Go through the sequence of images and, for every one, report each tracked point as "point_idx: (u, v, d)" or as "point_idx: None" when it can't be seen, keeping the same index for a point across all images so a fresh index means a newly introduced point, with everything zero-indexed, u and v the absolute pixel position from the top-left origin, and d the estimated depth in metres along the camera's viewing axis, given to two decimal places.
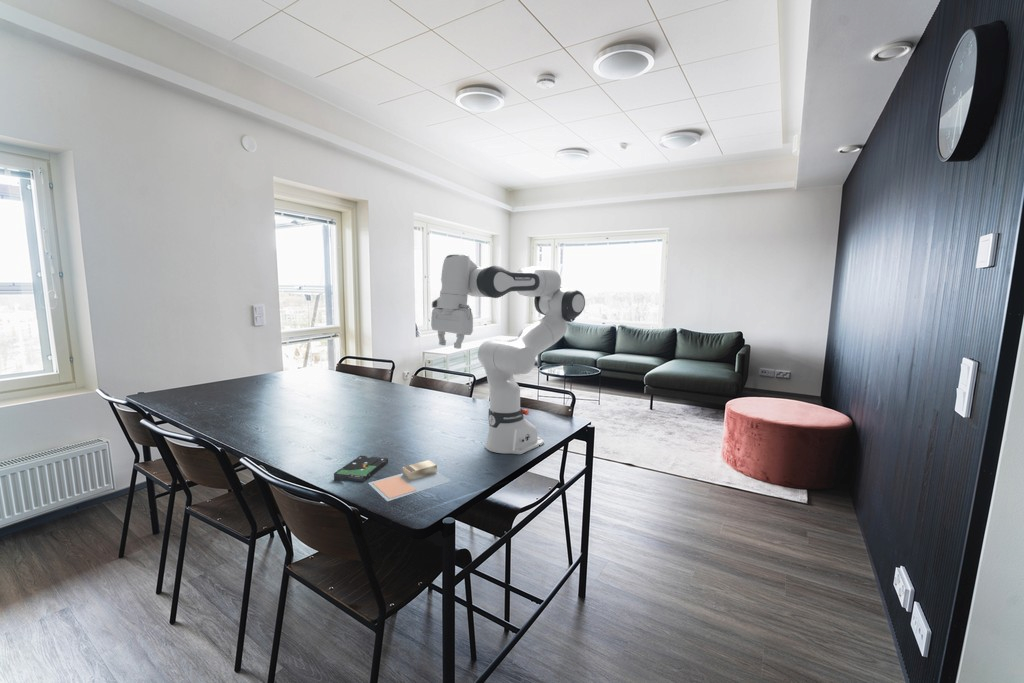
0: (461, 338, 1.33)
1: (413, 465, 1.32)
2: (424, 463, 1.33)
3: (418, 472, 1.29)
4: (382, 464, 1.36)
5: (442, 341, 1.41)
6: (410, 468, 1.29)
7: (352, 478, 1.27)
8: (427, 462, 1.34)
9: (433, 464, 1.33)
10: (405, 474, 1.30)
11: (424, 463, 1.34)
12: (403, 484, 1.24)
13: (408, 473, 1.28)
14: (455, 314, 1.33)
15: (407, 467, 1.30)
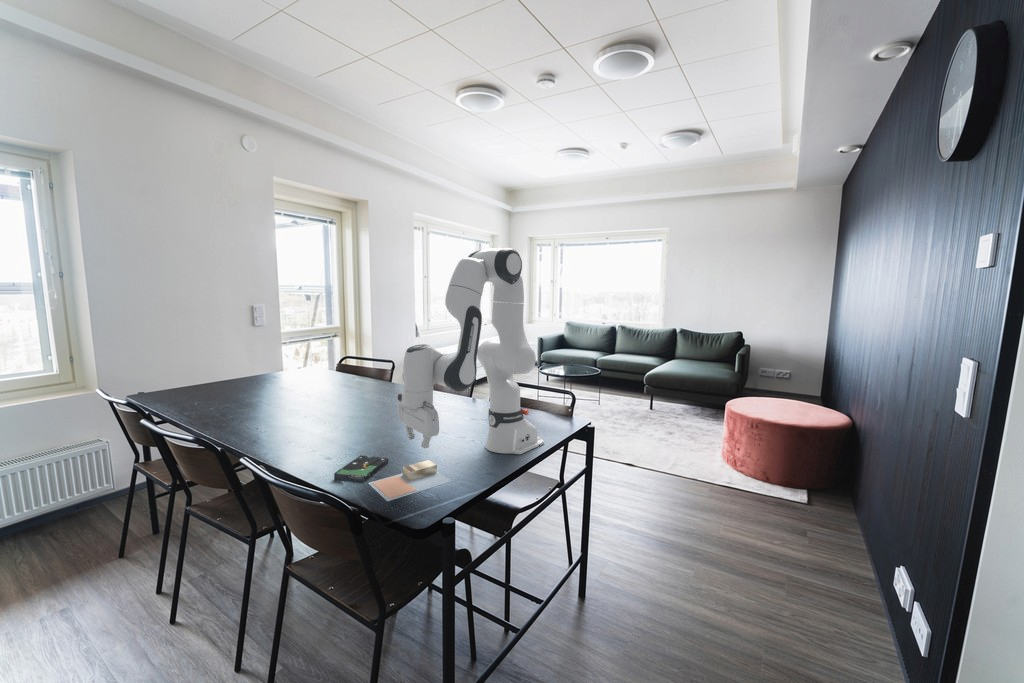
0: (428, 438, 1.25)
1: (413, 465, 1.32)
2: (424, 463, 1.33)
3: (418, 472, 1.29)
4: (382, 464, 1.37)
5: (410, 435, 1.33)
6: (410, 468, 1.29)
7: (352, 478, 1.27)
8: (427, 462, 1.34)
9: (433, 464, 1.33)
10: (405, 474, 1.30)
11: (424, 463, 1.34)
12: (403, 484, 1.24)
13: (408, 473, 1.28)
14: (420, 413, 1.25)
15: (407, 467, 1.30)
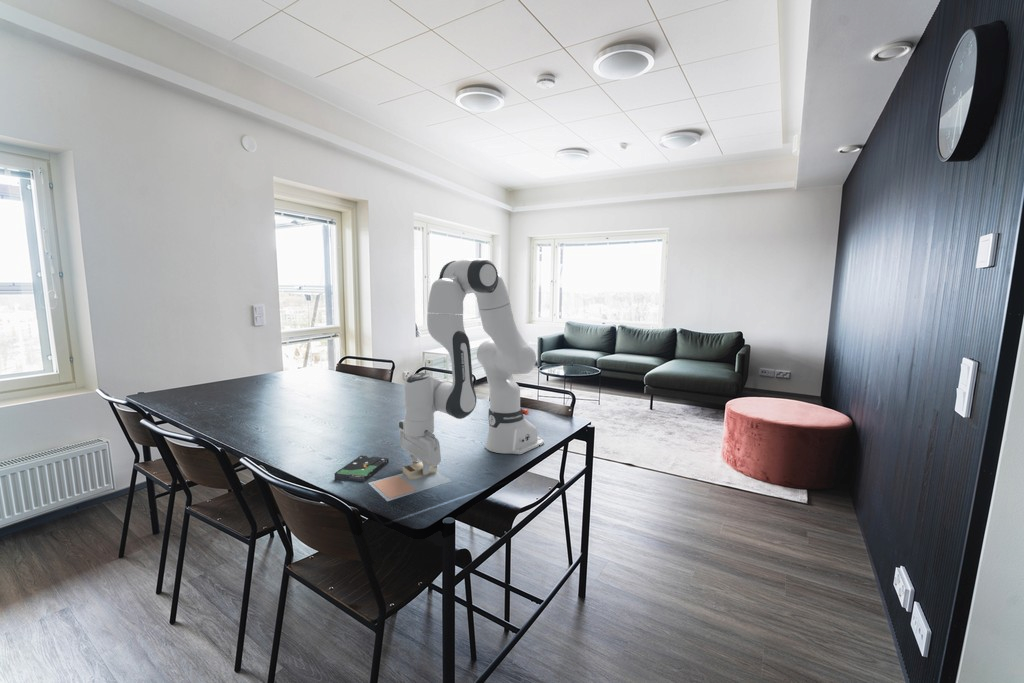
0: (427, 465, 1.28)
1: (413, 465, 1.32)
2: None
3: (418, 472, 1.29)
4: (383, 464, 1.37)
5: (414, 463, 1.33)
6: (410, 468, 1.29)
7: (353, 478, 1.27)
8: None
9: None
10: (405, 474, 1.30)
11: None
12: (403, 484, 1.24)
13: (408, 473, 1.28)
14: (421, 442, 1.26)
15: (407, 467, 1.30)
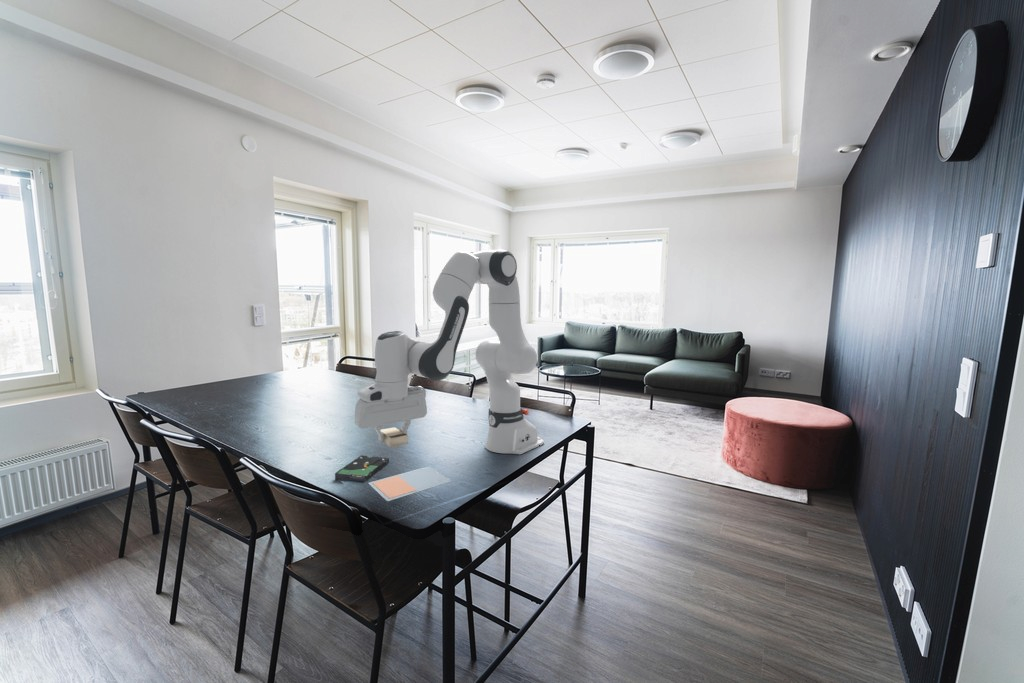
0: None
1: (390, 434, 1.19)
2: (387, 431, 1.22)
3: None
4: (383, 464, 1.37)
5: None
6: (398, 435, 1.19)
7: (353, 478, 1.27)
8: (385, 430, 1.23)
9: (392, 428, 1.25)
10: (397, 443, 1.17)
11: (387, 431, 1.22)
12: (403, 484, 1.24)
13: (404, 437, 1.19)
14: (410, 399, 1.22)
15: (394, 436, 1.18)
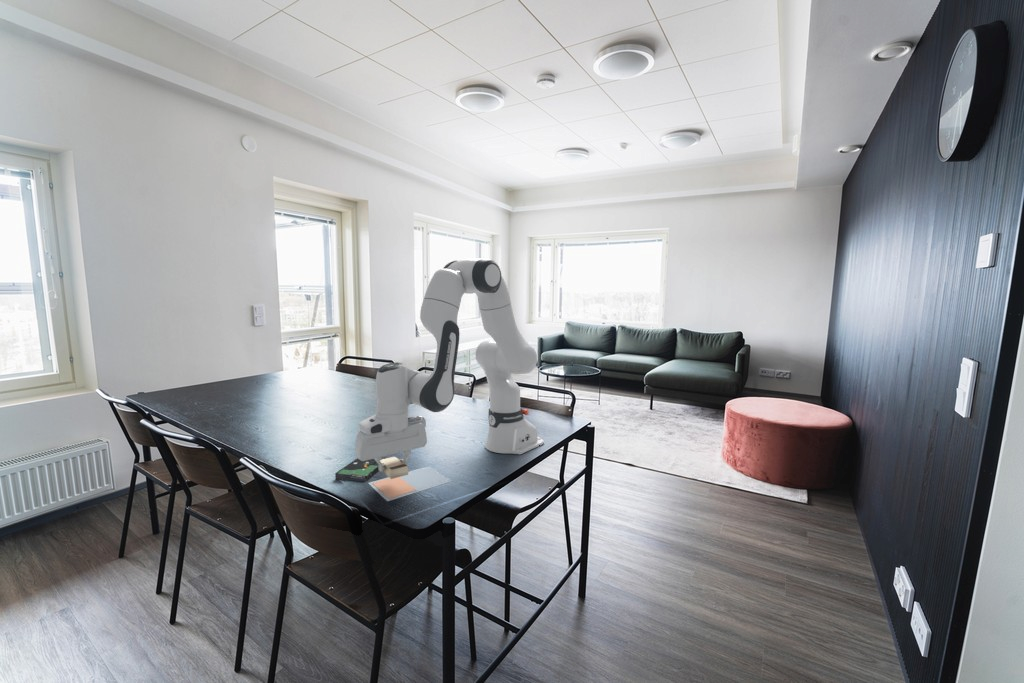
0: None
1: (390, 465, 1.20)
2: (387, 461, 1.23)
3: None
4: None
5: None
6: (398, 466, 1.20)
7: (354, 478, 1.27)
8: (386, 460, 1.24)
9: (392, 457, 1.26)
10: (397, 475, 1.18)
11: (387, 461, 1.23)
12: (403, 484, 1.24)
13: (404, 468, 1.20)
14: (411, 430, 1.23)
15: (395, 467, 1.19)
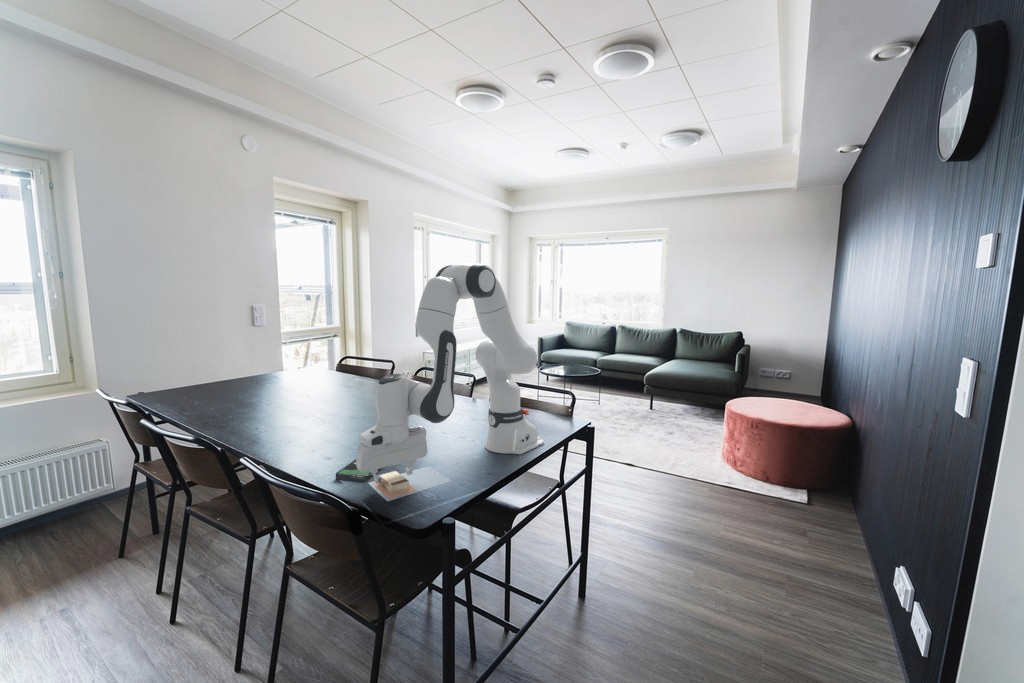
0: None
1: (391, 481, 1.21)
2: (388, 476, 1.24)
3: None
4: None
5: None
6: (399, 481, 1.20)
7: (354, 478, 1.27)
8: (387, 475, 1.25)
9: (393, 472, 1.27)
10: (398, 490, 1.19)
11: (388, 476, 1.24)
12: None
13: (405, 484, 1.20)
14: (411, 441, 1.23)
15: (396, 483, 1.19)
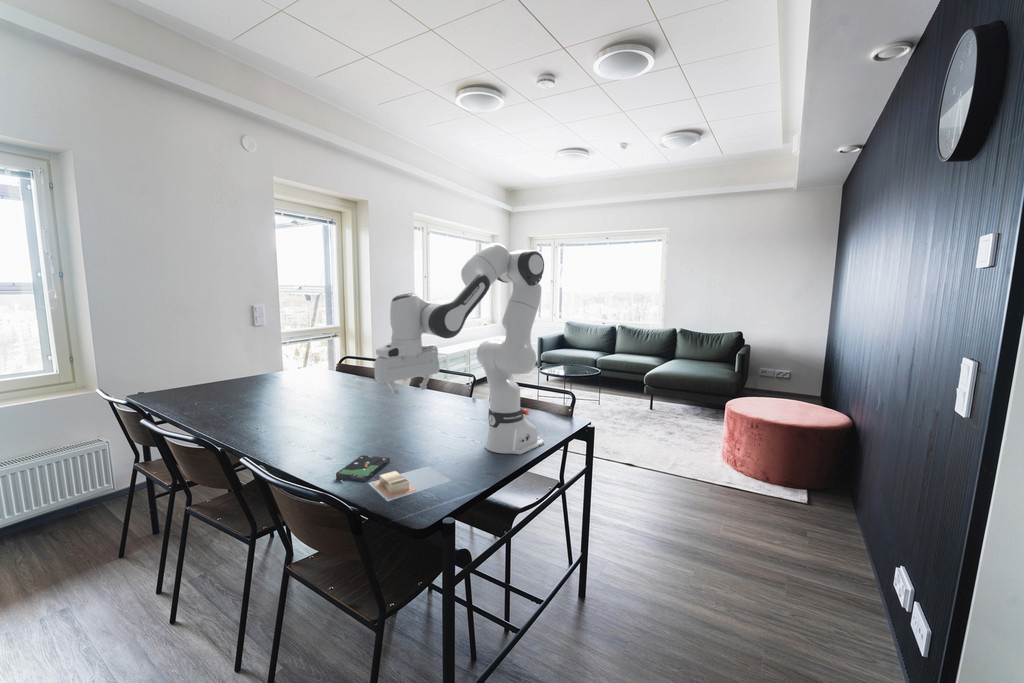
0: None
1: (391, 481, 1.21)
2: (388, 476, 1.24)
3: None
4: (384, 464, 1.37)
5: None
6: (399, 481, 1.20)
7: (354, 478, 1.27)
8: (387, 475, 1.25)
9: (393, 472, 1.27)
10: (398, 490, 1.19)
11: (388, 476, 1.24)
12: None
13: (405, 484, 1.20)
14: (424, 356, 1.32)
15: (396, 483, 1.19)
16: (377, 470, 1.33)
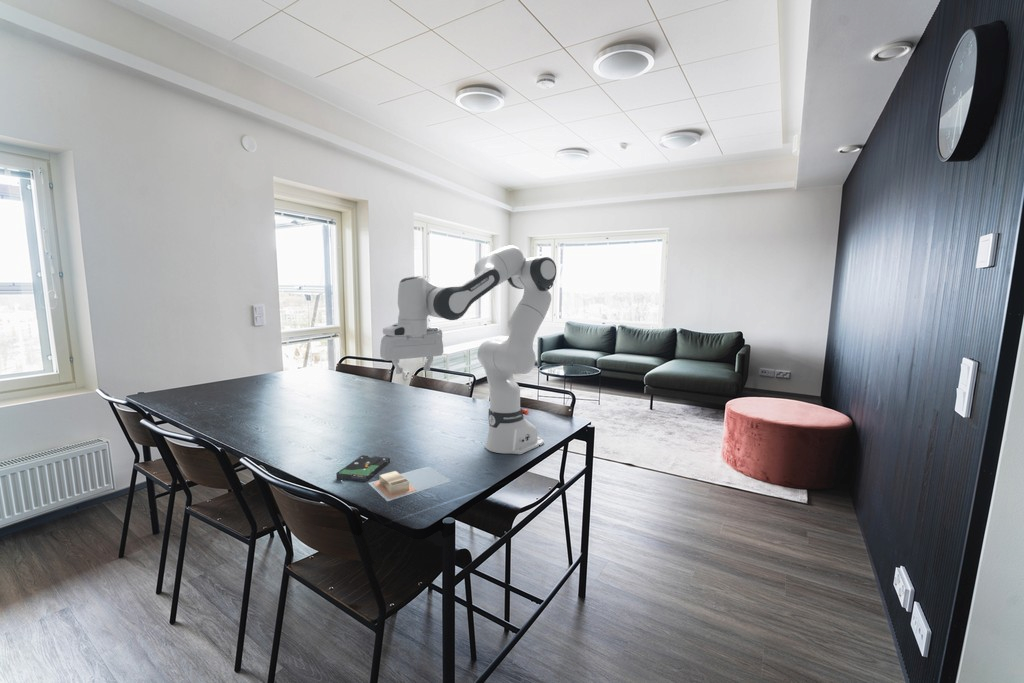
0: None
1: (391, 481, 1.21)
2: (388, 476, 1.24)
3: None
4: (384, 464, 1.37)
5: None
6: (399, 481, 1.20)
7: (355, 478, 1.27)
8: (387, 475, 1.25)
9: (393, 472, 1.27)
10: (398, 490, 1.19)
11: (388, 476, 1.24)
12: None
13: (405, 484, 1.20)
14: (429, 338, 1.36)
15: (396, 483, 1.19)
16: (377, 470, 1.33)
